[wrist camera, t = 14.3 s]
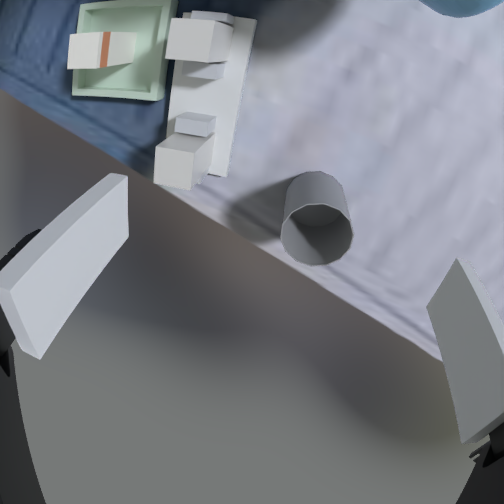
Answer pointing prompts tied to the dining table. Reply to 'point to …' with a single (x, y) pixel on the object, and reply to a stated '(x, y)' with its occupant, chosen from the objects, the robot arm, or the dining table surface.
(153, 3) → the tray
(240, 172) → the dining table surface
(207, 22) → the block
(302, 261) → the cup
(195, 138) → the block
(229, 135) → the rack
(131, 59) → the block
